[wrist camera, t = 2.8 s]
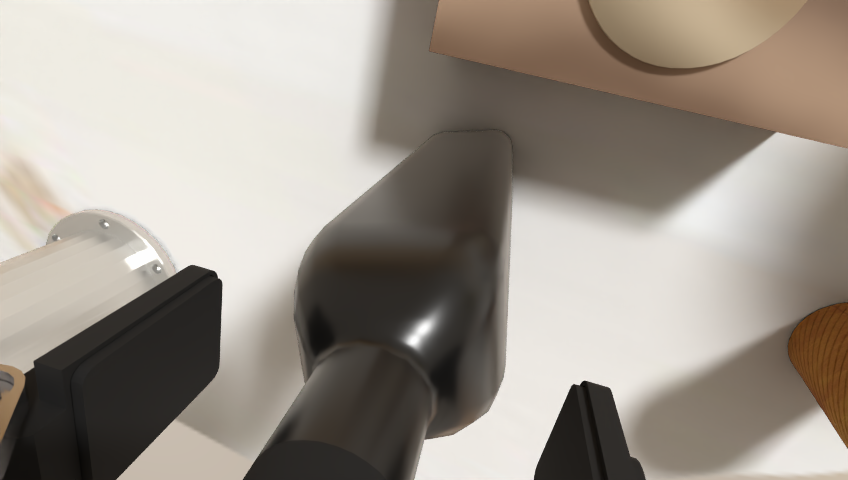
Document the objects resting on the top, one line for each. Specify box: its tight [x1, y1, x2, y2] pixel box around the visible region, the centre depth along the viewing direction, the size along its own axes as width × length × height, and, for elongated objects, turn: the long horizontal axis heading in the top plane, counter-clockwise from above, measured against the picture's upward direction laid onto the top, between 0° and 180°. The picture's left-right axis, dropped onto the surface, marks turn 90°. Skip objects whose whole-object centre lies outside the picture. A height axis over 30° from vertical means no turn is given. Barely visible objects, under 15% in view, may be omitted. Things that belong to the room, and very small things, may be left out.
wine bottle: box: [243, 130, 513, 480], centre depth 17 cm, size 6×6×30 cm
